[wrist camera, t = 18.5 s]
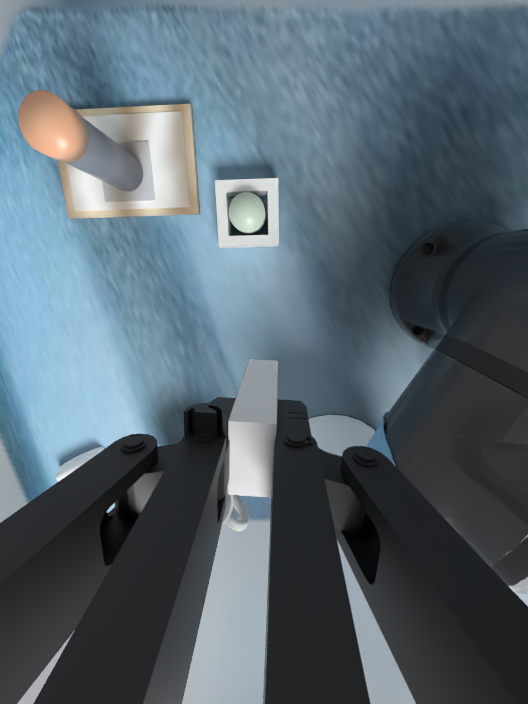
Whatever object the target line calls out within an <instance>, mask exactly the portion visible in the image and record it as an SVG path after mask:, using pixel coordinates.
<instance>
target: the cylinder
mask: <svg viewBox="0 0 528 704" xmlns="http://www.w3.org/2000/svg"><path fill="white" fill-rule="evenodd" d="M309 425H310V430H311V435H312V437H314V438H315V440H316V442H317V445H318V447H319V448H320V449H322V450H324V451H326V452H328V453H331V454H335V455H339V456H342V454H343V451H344V450H345V449H347V448H348V447H352V446H367V444H368V442H369V441H370V439H371V438H372V436H373V435H374V433H375V430H374V429H373V428H371V427H370V426H368V425H366V424H365V423H363V422H362V421H360V420H357V419H354V418H351V417H348V416H342V415H324V416H318V417H313V418H311V419H309ZM337 543H338V548H339V553H340V557H341V562H342V567H343V572H344V577H345V582H346V587H347V592H348V597H349V601H350V606H351V611H352V616H353V621H354V626H355V631H356V636H357V641H358V645H359V650H360V655H361V660H362V665H363V670H364V675H365V680H366V685H367V689H368V694H369V699H370V704H416V703H415V701H414V698H413V696H412V694H411V692H410V690H409V688H408V686H407V684H406V682H405V680H404V678H403V676H402V673H401V671H400V669H399V667H398V665H397V663H396V661H395V659H394V657H393V655H392V653H391V651H390V649H389V646H388V644H387V642H386V640H385V638H384V636H383V634H382V632H381V630H380V628H379V626H378V624H377V621H376V619H375V617H374V615H373V613H372V611H371V609H370V607H369V605H368V603H367V601H366V599H365V597H364V594H363V592H362V590H361V588H360V586H359V584H358V582H357V580H356V578H355V576H354V574H353V572H352V569H351V567H350V565H349V563H348V561H347V559H346V557H345V555H344V553H343V551H342V549H341V547H340V545H339V542H338V540H337Z"/></svg>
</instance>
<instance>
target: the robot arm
mask: <svg viewBox="0 0 528 704" xmlns="http://www.w3.org/2000/svg"><path fill="white" fill-rule="evenodd" d="M390 301H391V308H392V311H393V314H394V317H395V319H396V321H397V323H398V324H399V326H400V327H401V328H402V330H403V331H404V332H405V333H406V334H407V335H409V336H410V337H411V338H413V339H414V340H416V341H418V342H420V343H422V344H424V345H426V346H428V347H431V348H434V351H433V352H432V353H431V355H430V356H429V357H428V359H427V360H426V362H425V363H424V364H423V366H422V367H421V368H420V370H419V371H418V373H417V374H416V375H415V377H414V378H413V379H412V381H411V382H410V383H409V385H408V386H407V388H406V389H405V390H404V392H403V393H402V394H401V396H400V397H399V399H398V400H397V401H396V403H395V404H394V405H393V407H392V408H391V410H390V411H389V412H386V413H385V414H384V415H383V417H382V419H381V422H380V425H379V427H378V428H377V430H376V431H375V433H374V435H373V436H372V438H371V439H370V441H369V442H368V444H367V446H352V447H348V448H347V449H345V450H344V451H343V454H342V456H339V455H335V454H331V453H328V452H326V451H324V450H322V449H320V448H319V447H318V445H317V442H316V440H315V438H314V437H312V435H311V430H310V425H309V419H308V414H307V408H306V406H305V405H304V404H303V403H302V402H301V401H292V400H277V388H278V360H258V359H249V361H248V364H247V367H246V370H245V373H244V376H243V379H242V382H241V385H240V388H239V391H238V394H237V397H236V398H222V397H217V398H216V399H214V400H213V401H211V402H210V403H203V404H197V405H193V406H191V407H188V408H187V409H186V410H185V411H184V431H185V435H184V437H183V439H182V441H181V442H180V443H178V444H173V445H167V446H159V447H157V440H156V439H155V438H154V437H153V436H150V435H148V434H132V435H129V436H126V437H123V438H121V439H119V440H117V441H115V442H114V443H112V444H111V445H110V446H108V447H107V448H105V449H104V450H103V451H101V452H100V453H98V454H97V455H96V456H94V457H93V458H91V459H90V460H88V461H87V462H86V463H84V464H83V465H81V466H80V467H79V468H77V469H76V470H74V471H73V472H72V473H70V474H69V475H67V476H66V477H65V478H63V479H62V480H60V481H59V482H57V483H56V484H55V485H53V486H52V487H50V488H49V489H48V490H46V491H45V492H43V493H42V494H41V495H39V496H38V497H36V498H35V499H34V500H32V501H31V502H29V503H28V504H27V505H25V506H24V507H22V508H21V509H19V510H18V511H17V512H15V513H14V514H12V515H11V516H10V517H8V518H7V519H5V520H4V521H3V522H1V523H0V704H17V703H18V701H19V700H20V699H21V698H22V697H23V695H24V694H25V693H26V691H27V690H28V689H29V688H30V686H31V685H32V683H33V682H34V681H35V680H36V679H37V677H38V676H39V675H40V674H41V672H42V671H43V670H44V668H45V667H46V666H47V665H48V663H49V662H50V661H51V659H52V658H53V657H54V656H55V654H56V653H57V652H58V651H59V649H60V648H61V647H62V645H63V644H64V643H65V642H66V640H67V639H68V638H69V637H70V635H71V634H72V633H73V631H74V630H75V631H74V633H73V634H72V636H71V638H70V640H69V642H68V643H67V645H66V647H65V649H64V650H63V652H62V654H61V656H60V658H59V659H58V661H57V663H56V665H55V667H54V668H53V670H52V672H51V674H50V675H49V677H48V679H47V681H46V683H45V684H44V686H43V688H42V690H41V692H40V693H39V695H38V697H37V699H36V700H35V702H34V704H182V700H183V696H184V691H185V687H186V683H187V678H188V673H189V669H190V664H191V660H192V656H193V651H194V647H195V642H196V637H197V633H198V629H199V624H200V619H201V615H202V610H203V606H204V602H205V597H206V593H207V588H208V584H209V579H210V575H211V570H212V566H213V561H214V557H215V552H216V548H217V544H218V539H219V535H220V530H221V526H222V521H223V517H224V512H225V508H226V490H227V486H228V494H229V495H243V496H258V497H272V501H271V520H270V549H269V572H268V596H267V620H266V621H267V622H266V644H265V670H264V693H263V704H370V699H369V694H368V689H367V685H366V680H365V675H364V670H363V665H362V660H361V655H360V650H359V645H358V641H357V636H356V631H355V626H354V621H353V616H352V611H351V606H350V601H349V597H348V592H347V587H346V582H345V577H344V572H343V567H342V562H341V557H340V553H339V548H338V543H337V540H338V542H339V545H340V547H341V549H342V551H343V553H344V555H345V557H346V559H347V561H348V563H349V565H350V567H351V569H352V572H353V574H354V576H355V578H356V580H357V582H358V584H359V586H360V588H361V590H362V592H363V594H364V597H365V599H366V601H367V603H368V605H369V607H370V609H371V611H372V613H373V615H374V617H375V619H376V621H377V624H378V626H379V628H380V630H381V632H382V634H383V636H384V638H385V640H386V642H387V644H388V646H389V649H390V651H391V653H392V655H393V657H394V659H395V661H396V663H397V665H398V667H399V669H400V671H401V673H402V676H403V678H404V680H405V682H406V684H407V686H408V688H409V690H410V692H411V694H412V696H413V698H414V701H415V703H416V704H528V606H527V605H526V604H525V603H524V602H523V601H522V600H521V599H520V598H519V597H518V596H517V595H516V594H515V593H514V592H517V593H522V594H528V229H522V230H515V231H511V230H508V229H506V228H503V227H500V226H498V225H495V224H492V223H488V222H480V221H466V222H459V223H455V224H451V225H446V226H443V227H440V228H437V229H435V230H433V231H431V232H429V233H427V234H426V235H424V236H423V237H421V238H420V239H419V240H418V241H416V242H415V243H414V244H413V245H412V246H411V247H410V248H409V249H408V250H407V252H406V253H405V254H404V256H403V257H402V258H401V260H400V262H399V264H398V265H397V267H396V270H395V272H394V275H393V278H392V283H391V289H390ZM114 503H115V507H114V508H113V509H112V510H111V511H110V512H109V513H107V512H106V511H107V510H108V509H109V507H110V506H111V505H113V504H114Z"/></svg>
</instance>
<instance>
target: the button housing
mask: <svg viewBox="0 0 528 704" xmlns="http://www.w3.org/2000/svg"><path fill="white" fill-rule="evenodd" d="M215 192H216V208H217V224H218V241H219V247H220V248H254V247H279V209H278V178H263V179H237V180H215ZM243 192H250V193H253V194H255V195H257V196H267V195H268V235H244V236H232V234H231V221H230V218H229V206H230V197H235V196H236V195H238V194H240V193H243Z"/></svg>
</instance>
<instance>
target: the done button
mask: <svg viewBox="0 0 528 704" xmlns="http://www.w3.org/2000/svg"><path fill="white" fill-rule="evenodd" d="M229 218H230V221H231V222H232V224H233V225H234V226H235V227H236V228H237V229H238V230H239V231H240V232H242V233H244V234H254V233H257V232H258V231H260V230H261V229H262V227H263V226H264V223H265V220H266V212H265V208H264V205H263V202H262V201H261V199H260V198H259V197H258V196H257V195H255V194H253V193H250V192H243V193H240V194H238V195H236V196H235V197H234V198H233V200H232V201H231V203H230V206H229Z"/></svg>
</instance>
